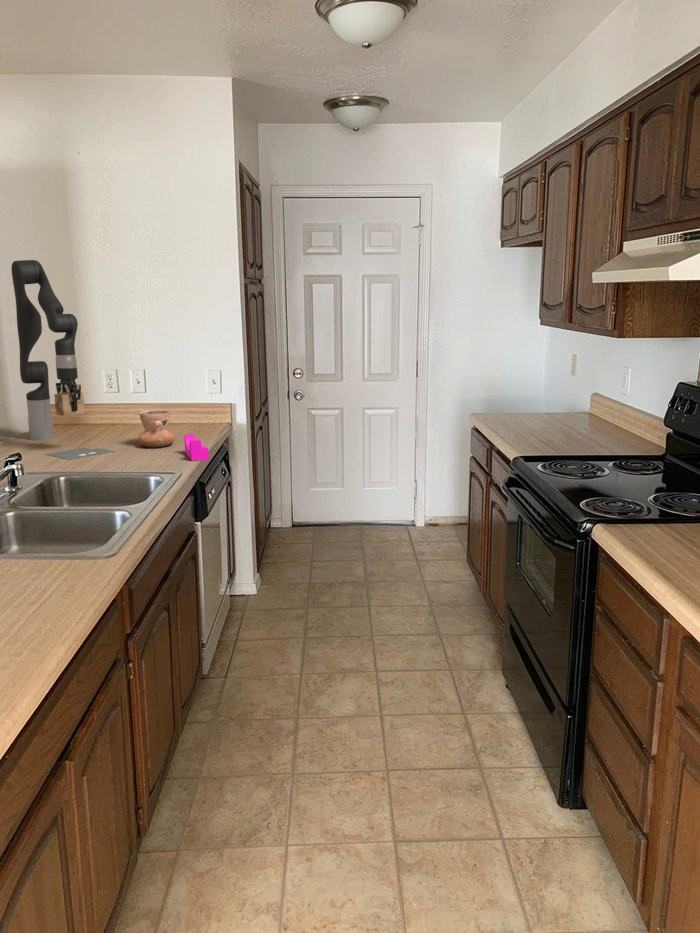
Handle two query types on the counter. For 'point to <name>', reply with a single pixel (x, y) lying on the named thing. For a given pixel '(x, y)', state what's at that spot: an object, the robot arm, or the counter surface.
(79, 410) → the walnut block
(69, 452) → the grey mat
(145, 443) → the ceramic jug
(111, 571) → the counter surface
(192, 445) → the toy block
